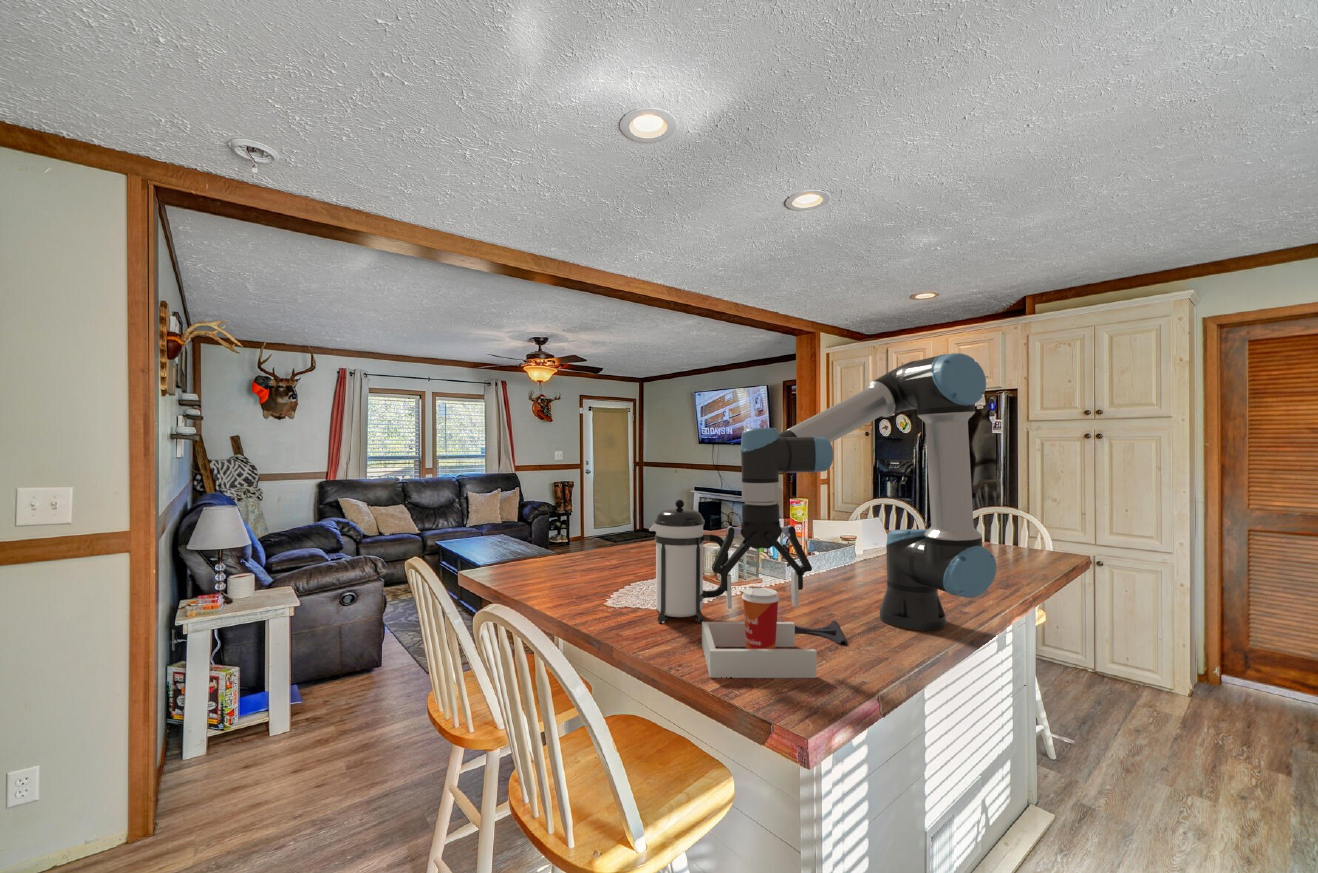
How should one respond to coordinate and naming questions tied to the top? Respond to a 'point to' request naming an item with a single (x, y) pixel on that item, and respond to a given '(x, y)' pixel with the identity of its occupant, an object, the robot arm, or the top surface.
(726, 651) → the box
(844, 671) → the top surface
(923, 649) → the top surface
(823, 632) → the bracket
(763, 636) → the paper cup
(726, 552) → the robot arm
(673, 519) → the coffee press
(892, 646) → the top surface
